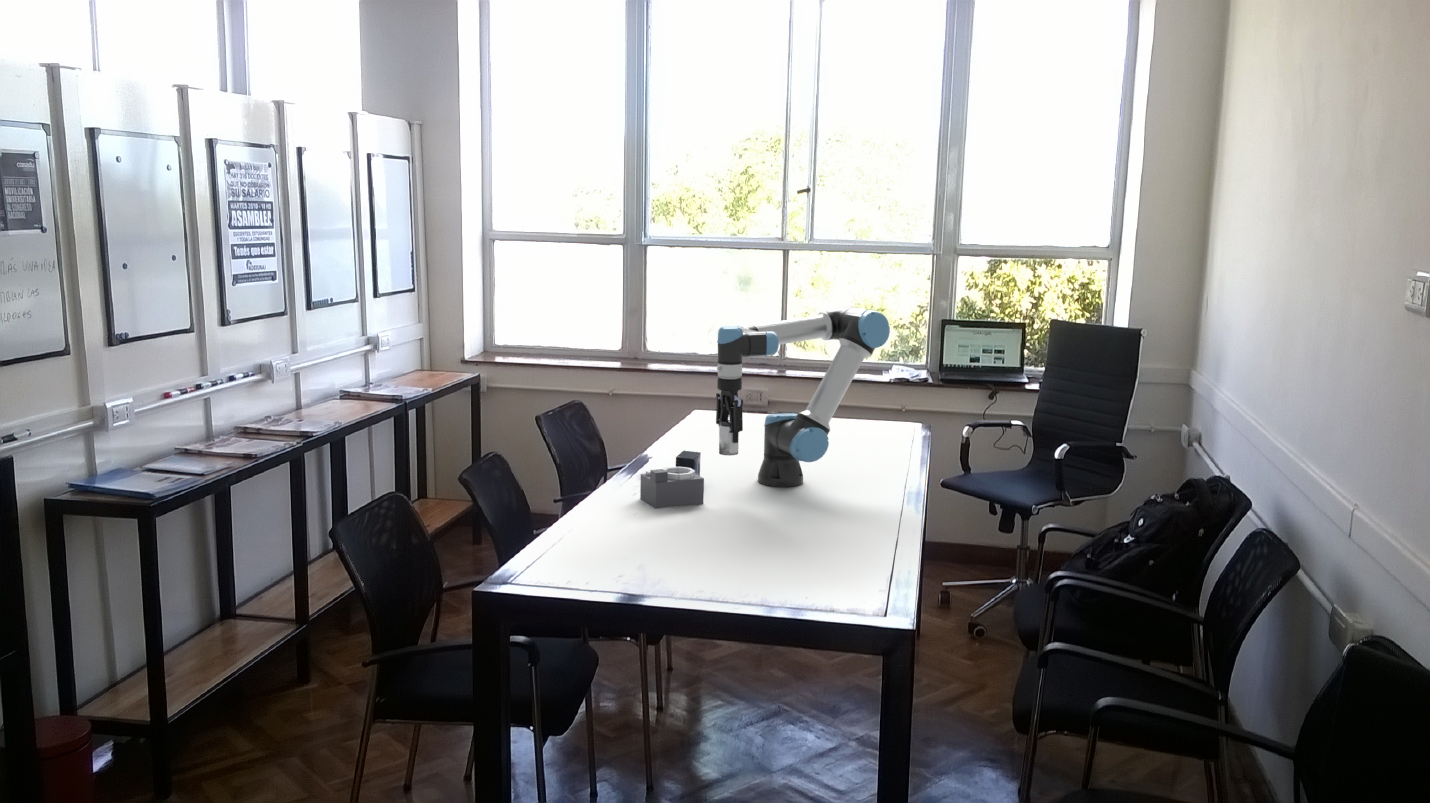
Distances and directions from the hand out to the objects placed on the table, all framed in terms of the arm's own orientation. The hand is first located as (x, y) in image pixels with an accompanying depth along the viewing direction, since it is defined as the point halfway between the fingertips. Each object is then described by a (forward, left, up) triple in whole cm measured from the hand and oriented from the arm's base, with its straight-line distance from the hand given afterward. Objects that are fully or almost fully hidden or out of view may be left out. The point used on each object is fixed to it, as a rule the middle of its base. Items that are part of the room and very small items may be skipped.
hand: (728, 450), depth 341 cm
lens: (0, 0, -1) cm, 1 cm away
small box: (+4, -20, -16) cm, 26 cm away
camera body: (+17, -4, -16) cm, 24 cm away
